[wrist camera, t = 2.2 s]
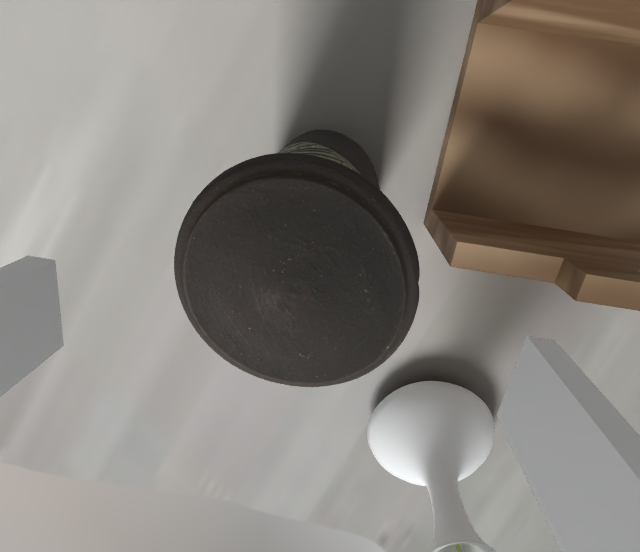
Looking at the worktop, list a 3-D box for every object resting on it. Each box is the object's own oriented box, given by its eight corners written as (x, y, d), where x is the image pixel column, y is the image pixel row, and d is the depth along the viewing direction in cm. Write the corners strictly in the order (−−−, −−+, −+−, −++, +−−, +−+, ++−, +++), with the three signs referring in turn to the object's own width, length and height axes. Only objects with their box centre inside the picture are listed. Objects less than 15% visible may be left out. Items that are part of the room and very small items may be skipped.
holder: (477, 0, 27) (565, -74, 16) (724, 37, 27) (983, -11, 16) (423, 223, 33) (460, 282, 22) (627, 255, 33) (768, 330, 22)
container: (355, 107, 30) (363, 105, 11) (398, 220, 33) (461, 365, 14) (249, 156, 32) (108, 225, 13) (299, 259, 35) (240, 435, 16)
